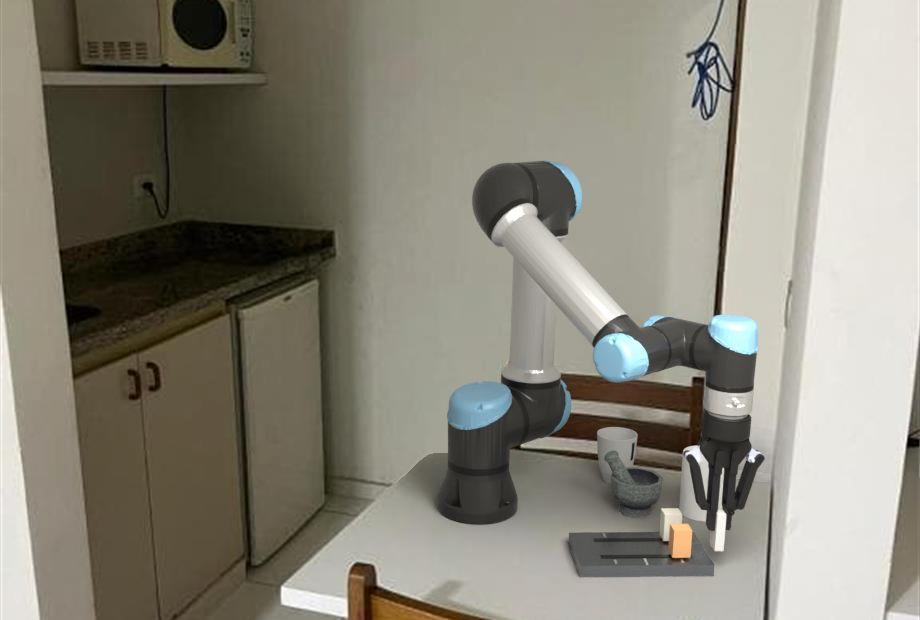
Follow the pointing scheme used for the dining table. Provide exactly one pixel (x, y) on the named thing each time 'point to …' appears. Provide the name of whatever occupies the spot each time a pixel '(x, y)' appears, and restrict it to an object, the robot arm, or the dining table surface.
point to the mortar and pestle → (633, 487)
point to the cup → (616, 448)
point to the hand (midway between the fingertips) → (716, 547)
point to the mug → (687, 492)
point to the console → (634, 555)
